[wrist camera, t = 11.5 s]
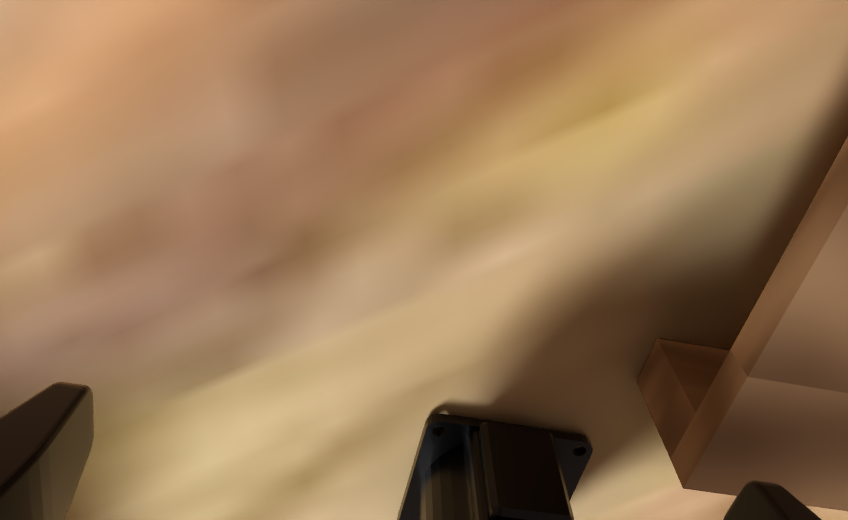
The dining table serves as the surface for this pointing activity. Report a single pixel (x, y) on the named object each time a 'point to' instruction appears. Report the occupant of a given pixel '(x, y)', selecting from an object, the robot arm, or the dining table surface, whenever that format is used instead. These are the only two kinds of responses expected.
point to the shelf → (770, 375)
